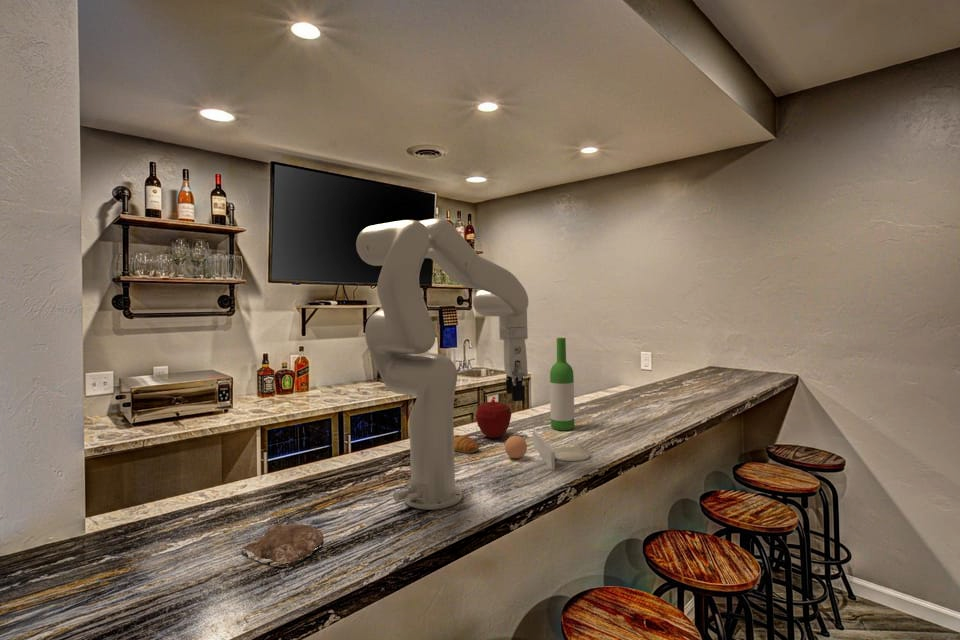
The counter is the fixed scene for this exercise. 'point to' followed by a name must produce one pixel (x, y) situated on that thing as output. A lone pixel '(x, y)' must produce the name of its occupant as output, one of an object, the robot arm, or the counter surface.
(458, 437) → the pastry
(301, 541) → the shell
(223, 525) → the counter surface
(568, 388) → the wine bottle
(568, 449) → the saucer
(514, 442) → the ball
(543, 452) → the wall
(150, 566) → the counter surface
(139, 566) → the counter surface
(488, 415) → the apple
